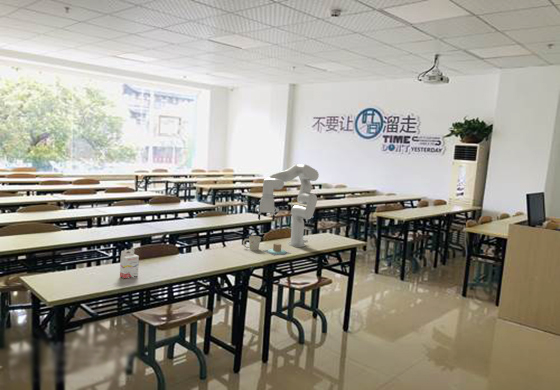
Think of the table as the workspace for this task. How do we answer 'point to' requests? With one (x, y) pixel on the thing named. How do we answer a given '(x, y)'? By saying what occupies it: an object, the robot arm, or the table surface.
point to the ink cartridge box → (129, 264)
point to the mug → (253, 242)
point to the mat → (276, 254)
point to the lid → (276, 249)
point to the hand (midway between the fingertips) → (266, 220)
